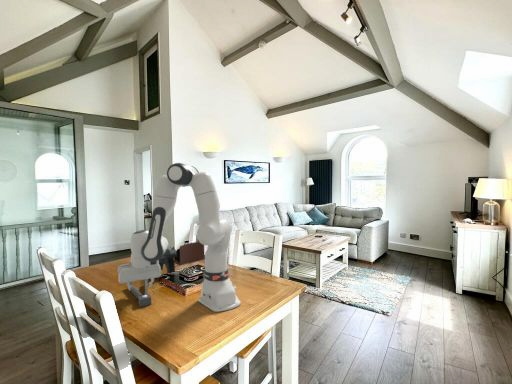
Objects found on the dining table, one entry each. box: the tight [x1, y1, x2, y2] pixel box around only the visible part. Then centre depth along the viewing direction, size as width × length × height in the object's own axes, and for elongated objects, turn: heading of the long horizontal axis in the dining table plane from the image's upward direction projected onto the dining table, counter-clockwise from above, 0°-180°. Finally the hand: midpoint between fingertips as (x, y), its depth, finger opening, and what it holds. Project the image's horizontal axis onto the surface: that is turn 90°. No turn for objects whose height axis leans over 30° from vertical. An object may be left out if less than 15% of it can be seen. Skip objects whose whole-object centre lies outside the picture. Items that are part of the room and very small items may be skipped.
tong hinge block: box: [137, 293, 152, 308], centre depth 125 cm, size 4×5×4 cm
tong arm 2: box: [144, 279, 149, 295], centre depth 138 cm, size 22×1×3 cm, turn 23°
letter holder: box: [174, 241, 205, 266], centre depth 194 cm, size 10×20×14 cm, turn 133°
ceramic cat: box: [159, 246, 177, 273], centre depth 168 cm, size 20×6×20 cm, turn 46°
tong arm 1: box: [127, 282, 143, 300], centre depth 135 cm, size 22×1×3 cm, turn 39°
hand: (140, 288), depth 135 cm, fingers open, 8 cm apart
